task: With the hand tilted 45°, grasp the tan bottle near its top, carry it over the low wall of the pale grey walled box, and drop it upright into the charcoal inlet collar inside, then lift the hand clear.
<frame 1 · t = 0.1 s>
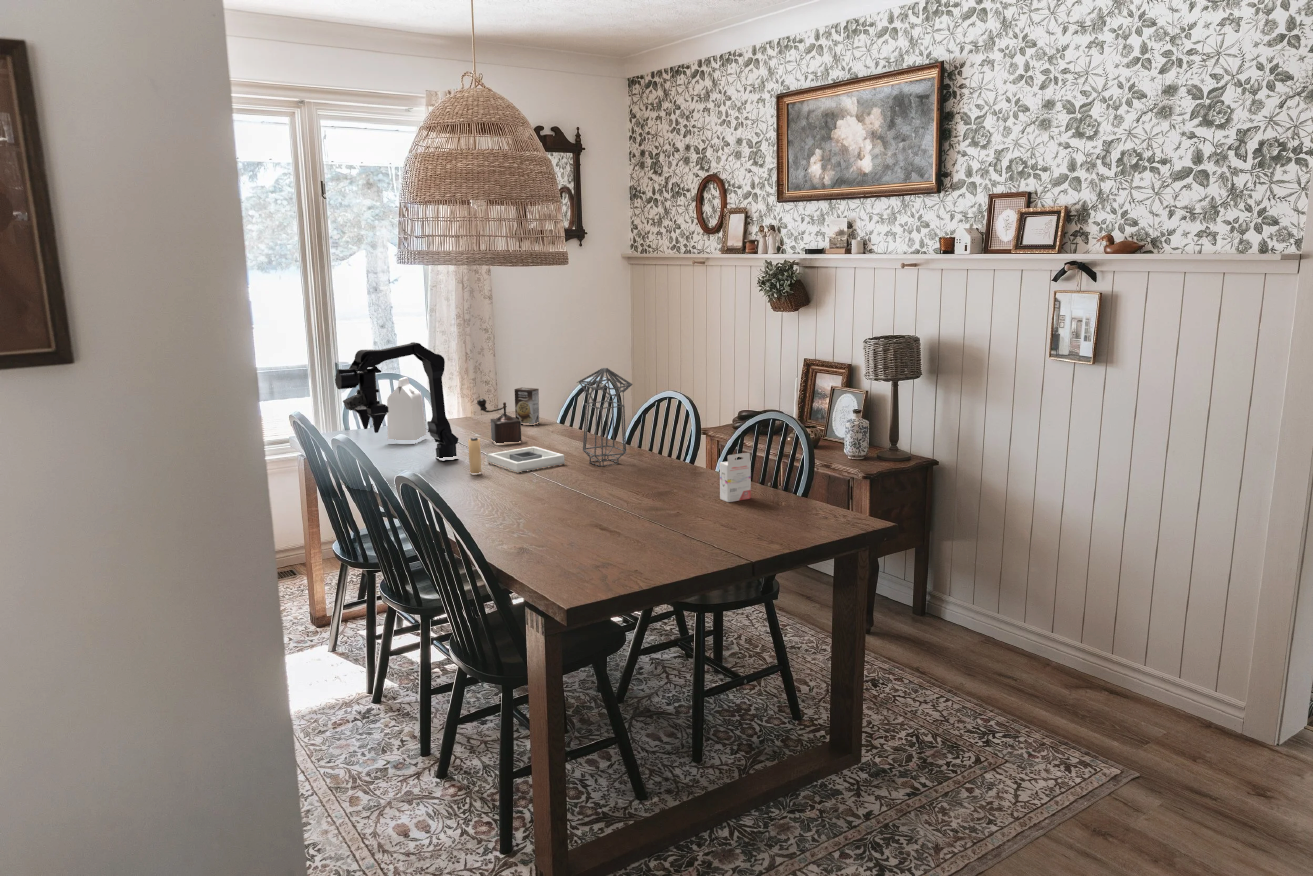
hand: (371, 430, 317), 15 cm above the table, tool pointing down, fingers open, 9 cm apart
walled box: (526, 463, 329), on the table
milk: (407, 442, 371), on the table
geometric lantern: (606, 464, 329), on the table
ink cartridge box: (735, 499, 281), on the table
manual coffee grinder: (499, 443, 366), on the table
tan bottle: (475, 473, 315), on the table
coffee box: (527, 424, 405), on the table
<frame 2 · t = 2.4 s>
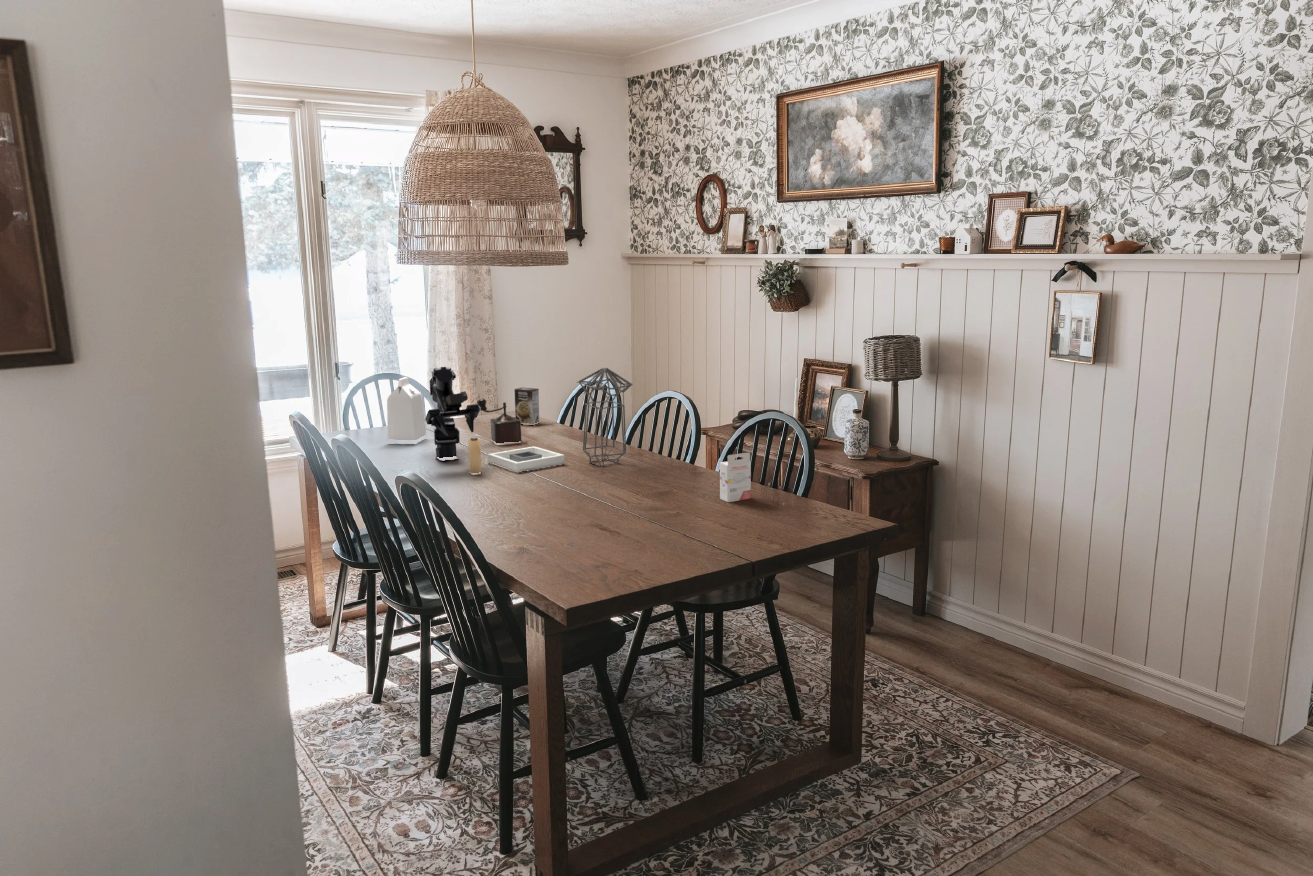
hand: (460, 433, 318), 13 cm above the table, tool tilted 45°, fingers open, 9 cm apart
nothing on the table moved.
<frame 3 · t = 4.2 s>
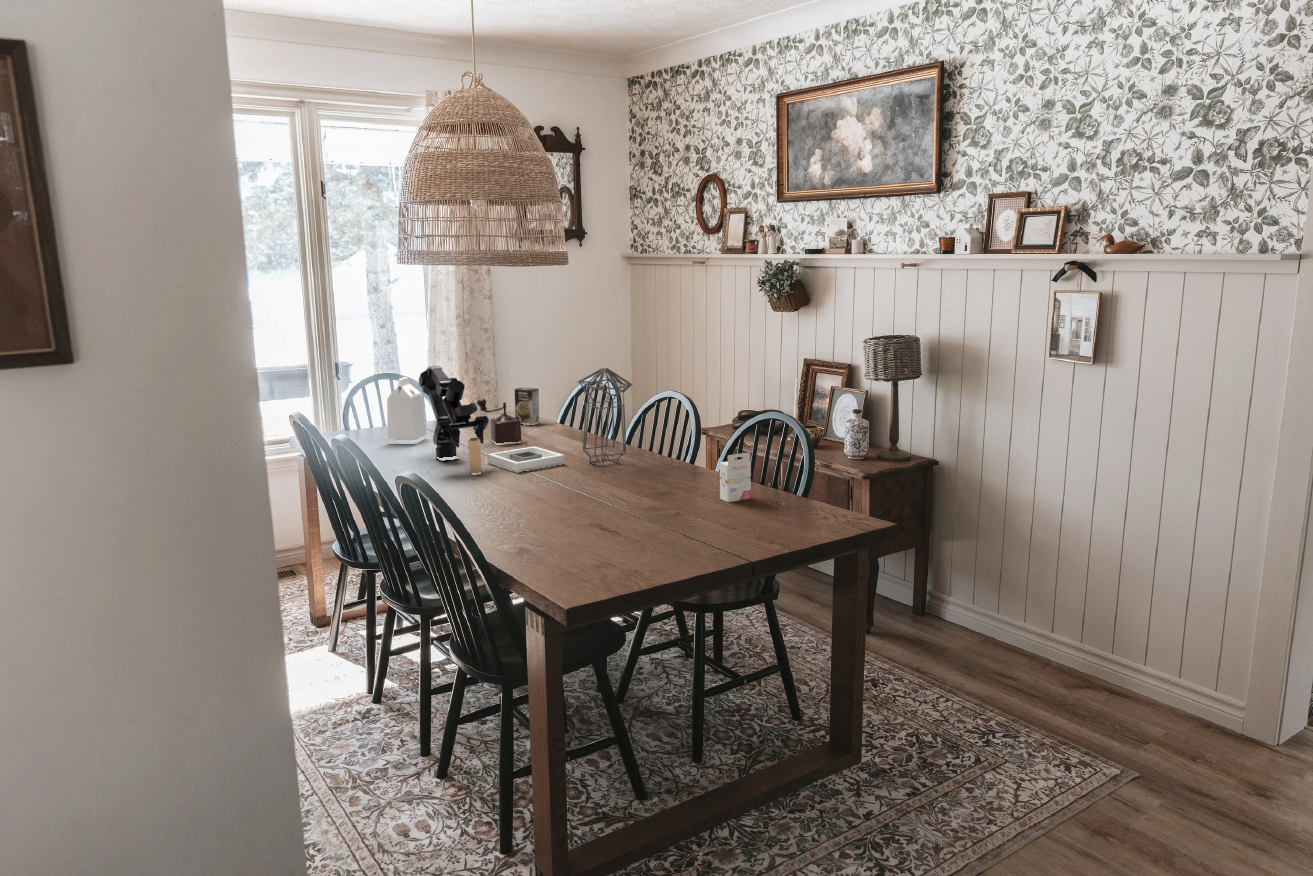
hand: (470, 445, 315), 10 cm above the table, tool tilted 45°, fingers open, 9 cm apart
nothing on the table moved.
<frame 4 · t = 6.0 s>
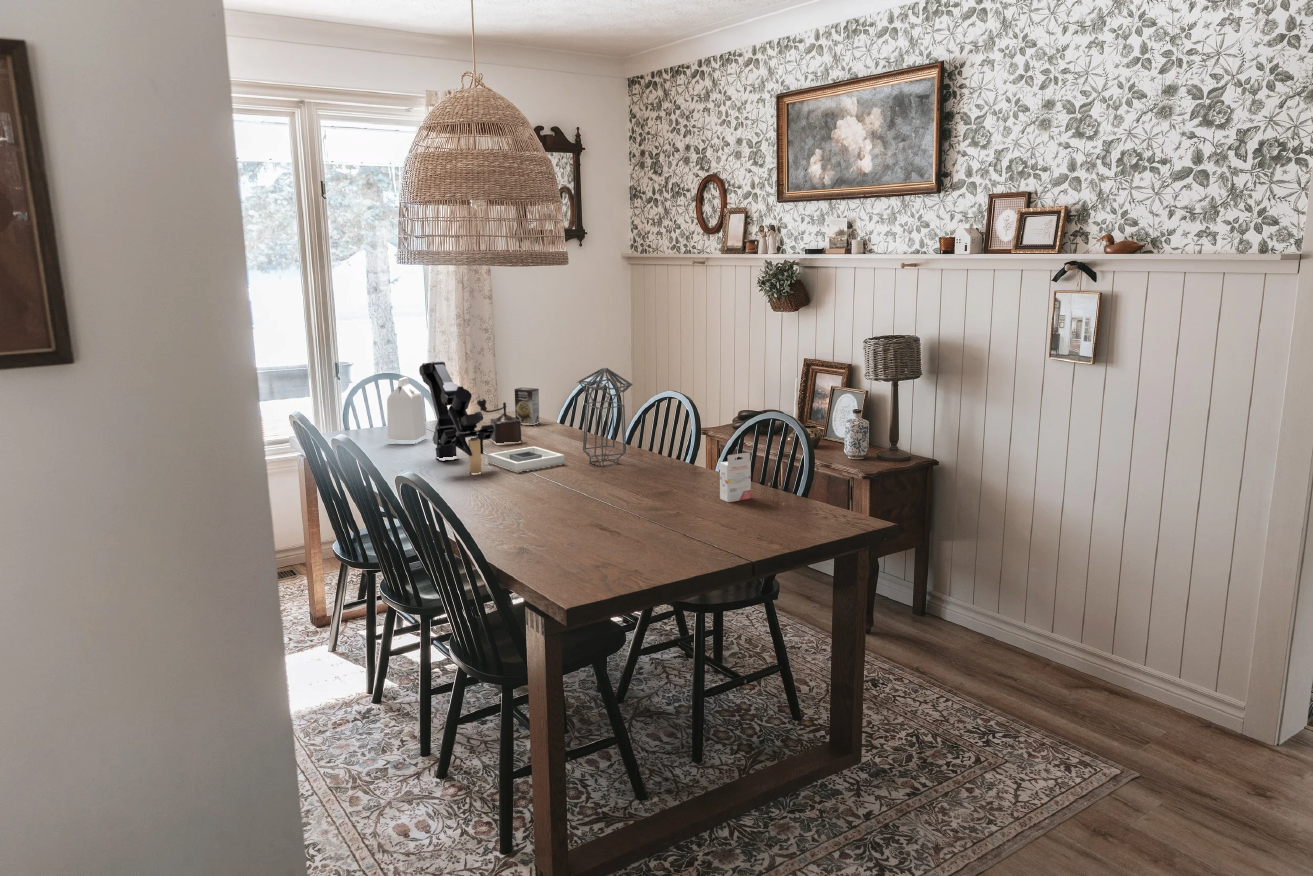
hand: (476, 454, 313), 7 cm above the table, tool tilted 45°, fingers closed on tan bottle, 4 cm apart
tan bottle: (475, 473, 315), on the table, touching gripper
everything else where it was.
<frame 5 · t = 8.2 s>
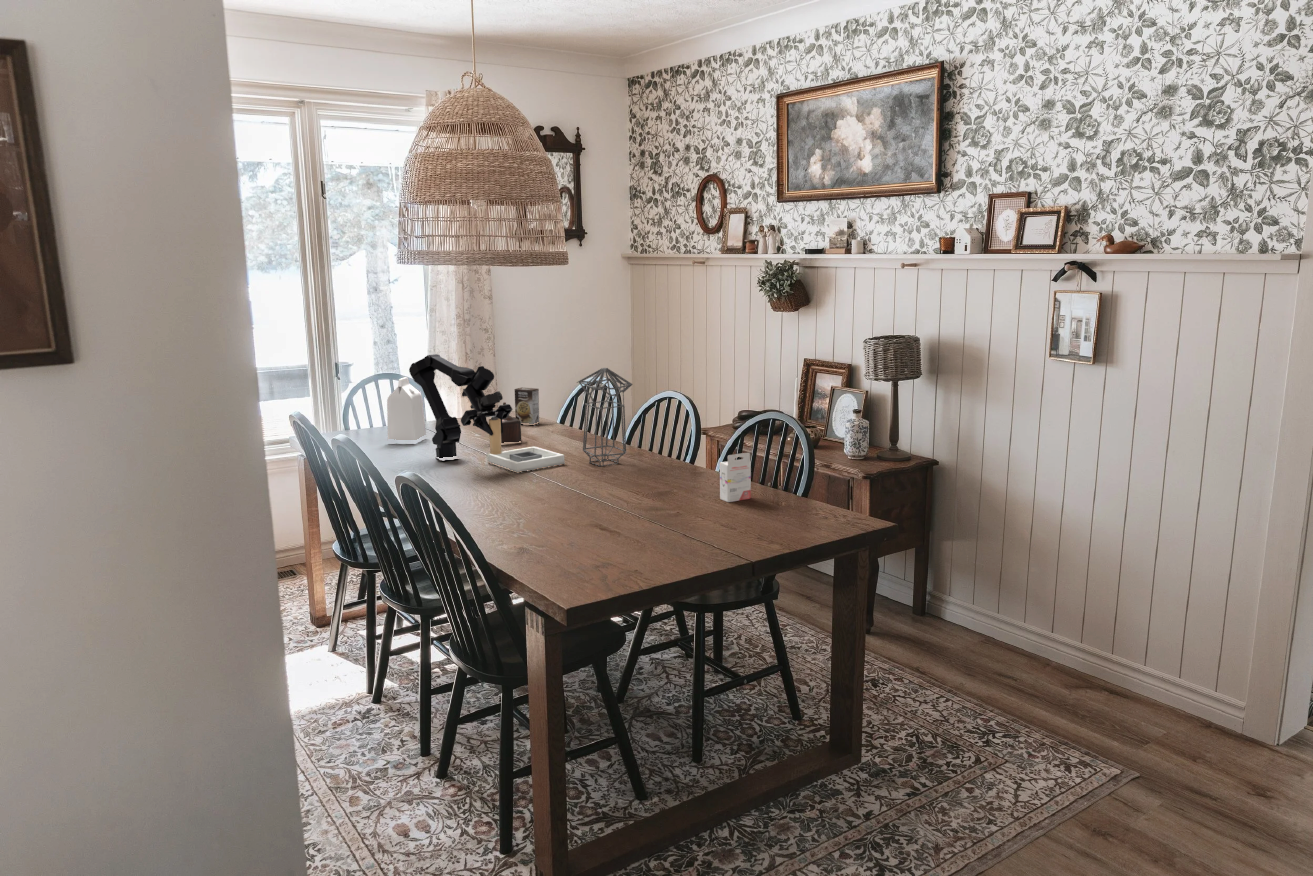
hand: (497, 433, 315), 14 cm above the table, tool tilted 45°, fingers closed on tan bottle, 4 cm apart
tan bottle: (495, 453, 318), point 6 cm above the table, touching gripper
everything else where it was.
when the fingers open (10 cm above the table, at t = 10.6 s): tan bottle drops 1 cm, resting on walled box.
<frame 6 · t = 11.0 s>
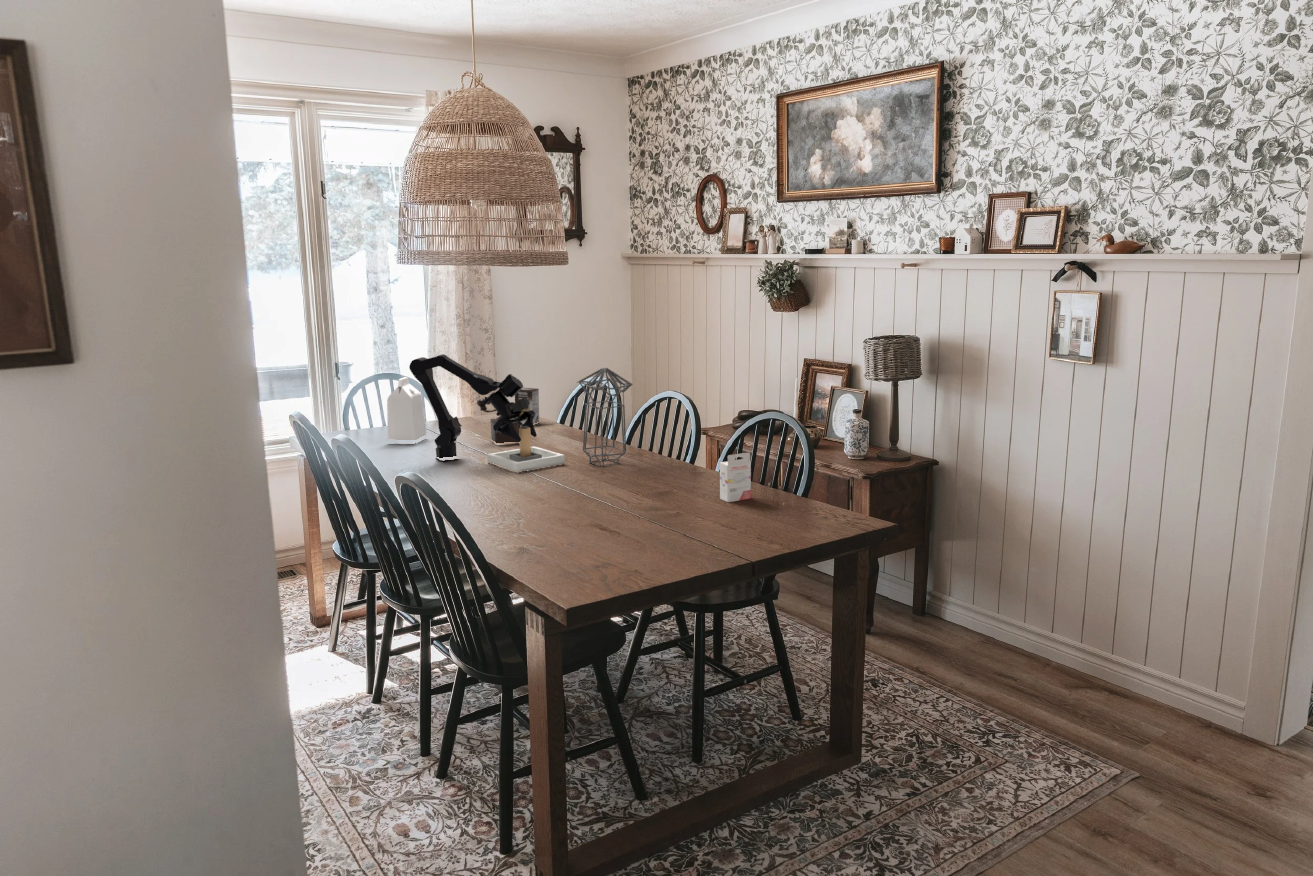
hand: (528, 438, 327), 10 cm above the table, tool tilted 45°, fingers open, 9 cm apart
tan bottle: (525, 460, 329), point 1 cm above the table, touching walled box
everything else where it was.
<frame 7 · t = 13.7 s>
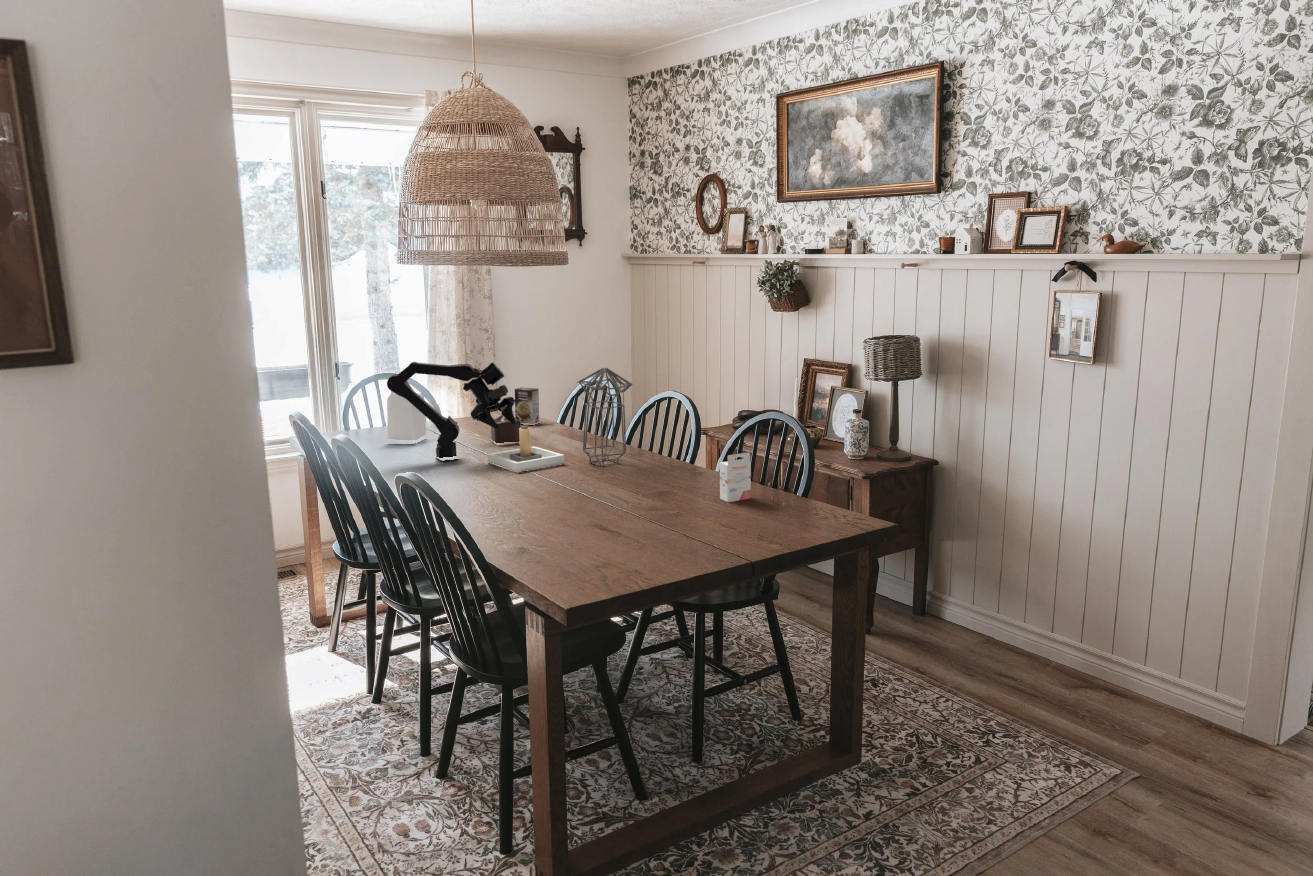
hand: (506, 425, 330), 13 cm above the table, tool tilted 45°, fingers open, 9 cm apart
nothing on the table moved.
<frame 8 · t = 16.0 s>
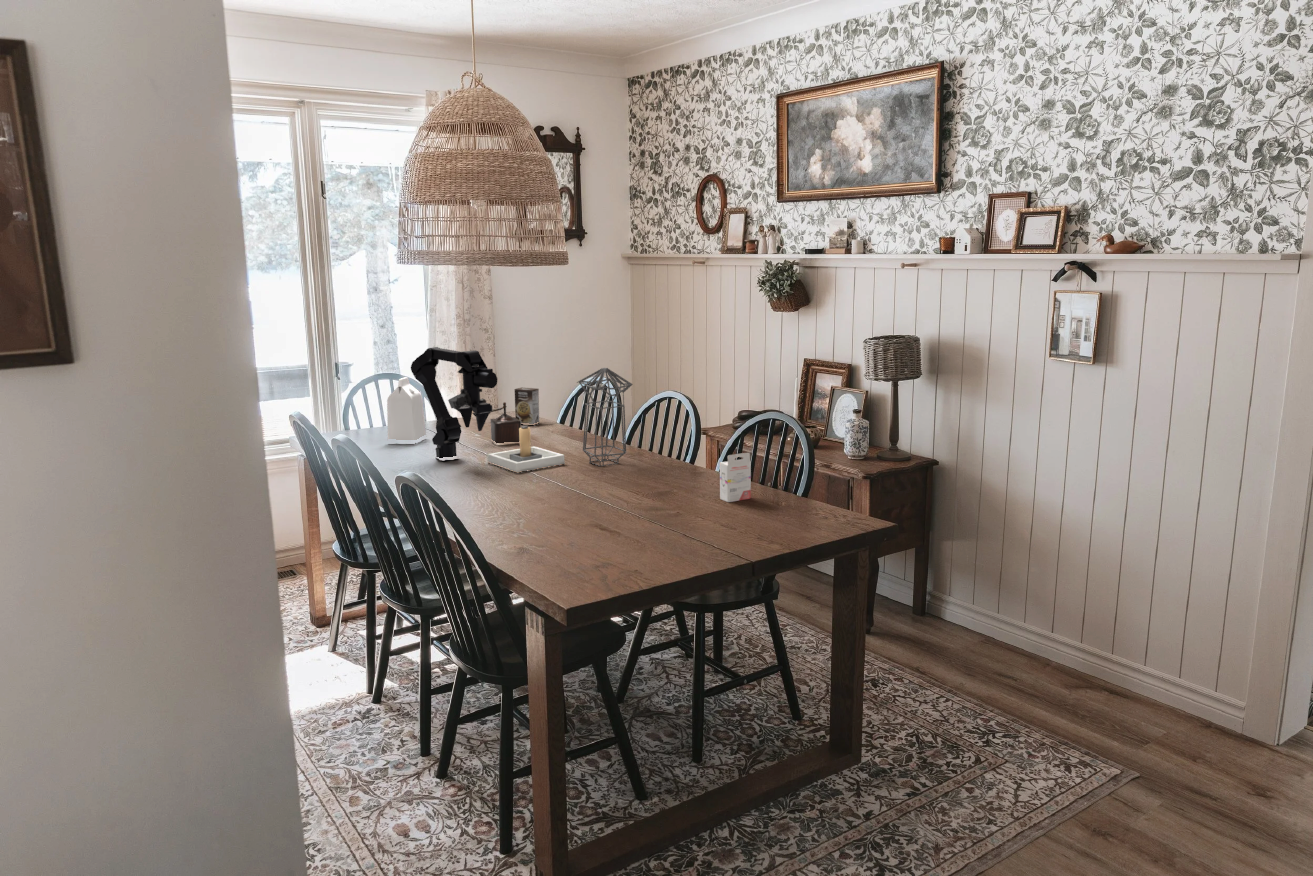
hand: (473, 429, 327), 13 cm above the table, tool pointing down, fingers open, 9 cm apart
nothing on the table moved.
at the end: tan bottle 0.0 cm off-centre on the walled box, point 1.2 cm above the walled box's base; tan bottle tilted 0°; the gripper is holding nothing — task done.
